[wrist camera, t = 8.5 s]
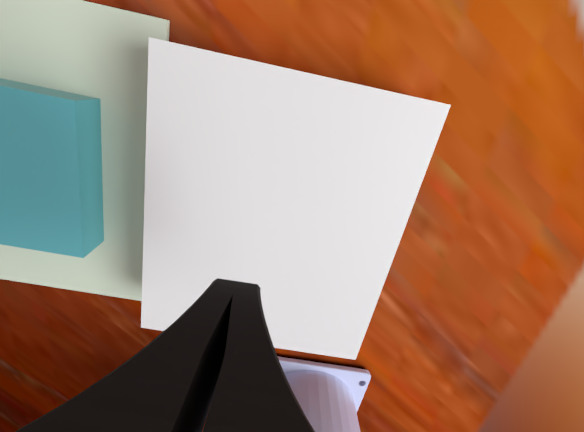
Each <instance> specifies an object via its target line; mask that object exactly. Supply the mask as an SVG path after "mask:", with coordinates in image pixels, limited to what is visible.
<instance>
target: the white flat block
mask: <svg viewBox="0 0 584 432" xmlns="http://www.w3.org/2000/svg"><path fill="white" fill-rule="evenodd" d="M450 106H451V105H449V104H444V103H440V102H435V101H431V100H426V99H422V98H417V97H413V96H409V95H404V94H400V93H395V92H391V91H386V90H382V89H377V88H373V87H369V86H364V85H360V84H355V83H351V82H346V81H342V80H337V79H333V78H329V77H324V76H320V75H315V74H311V73H306V72H302V71H297V70H293V69H288V68H284V67H280V66H275V65H271V64H266V63H262V62H257V61H253V60H248V59H244V58H240V57H235V56H231V55H226V54H222V53H217V52H213V51H208V50H204V49H200V48H195V47H191V46H186V45H182V44H177V43H173V42H168V41H164V40H160V39H155V38H151V37H149V44H148V82H147V120H146V157H145V195H144V233H143V270H142V308H141V328H148V329H154V330H161V331H165V330H166V329H167V328H168V327H169V326H170V325H171V324H173V323H174V322H175V321H176V320H177V319H178V318H179V317H180V316H181V315H182V314H183V313H184V312H185V311H186V310H187V309H188V308H189V307H190V306H191V305H192V304H193V303H194V302H195V301H196V300H197V299H198V298H199V297H200V296H201V295H202V294H203V293H204V291H205V290H206V289H207V288H208V287H209V286H210V285H211V283H212V282H213V281H214V280H216V279H217V278H219V279H226V280H232V281H239V282H246V283H252V284H258V286H259V287H260V294H261V302H262V308H263V312H264V317H265V320H266V324H267V327H268V331H269V334H270V337H271V340H272V343H273V346H274V348H280V349H287V350H294V351H300V352H307V353H314V354H320V355H327V356H333V357H340V358H347V359H353V360H356V357H357V354H358V352H359V349H360V346H361V344H362V341H363V338H364V336H365V333H366V330H367V328H368V325H369V322H370V320H371V317H372V314H373V312H374V309H375V306H376V304H377V301H378V298H379V296H380V293H381V290H382V288H383V285H384V282H385V280H386V277H387V274H388V272H389V269H390V266H391V264H392V261H393V258H394V256H395V253H396V250H397V248H398V245H399V242H400V240H401V237H402V234H403V232H404V229H405V226H406V224H407V221H408V218H409V216H410V213H411V210H412V208H413V205H414V202H415V199H416V197H417V194H418V191H419V189H420V186H421V183H422V181H423V178H424V175H425V173H426V170H427V167H428V165H429V162H430V159H431V157H432V154H433V151H434V149H435V146H436V143H437V141H438V138H439V135H440V133H441V130H442V127H443V125H444V122H445V119H446V117H447V114H448V111H449V109H450Z"/></svg>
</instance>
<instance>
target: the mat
mask: <svg viewBox="0 0 584 432" xmlns="http://www.w3.org/2000/svg"><path fill="white" fill-rule="evenodd" d="M169 26H170V21H168V20H166V19H161V18H157V17H153V16H148V15H144V14H140V13H135V12H131V11H127V10H122V9H118V8H114V7H109V6H105V5H101V4H96V3H92V2H87V1H83V0H0V78H2V79H6V80H11V81H16V82H21V83H26V84H31V85H35V86H40V87H45V88H50V89H55V90H60V91H64V92H69V93H74V94H79V95H84V96H89V97H94V98H98V99H100V107H101V145H102V182H103V220H104V241H103V242H102V243H101V244H100V245H99V246H97V247H96V248H95V249H94V250H93V251H91V252H90V253H89V254H88V255H87V256H85V257H84V258H80V257H74V256H68V255H62V254H56V253H50V252H44V251H38V250H32V249H26V248H20V247H14V246H8V245H2V244H0V279H5V280H11V281H18V282H24V283H30V284H37V285H43V286H49V287H56V288H62V289H69V290H75V291H81V292H88V293H94V294H100V295H107V296H113V297H119V298H126V299H132V300H138V301H142V270H143V233H144V195H145V157H146V120H147V82H148V44H149V37H151V38H155V39H160V40H164V41H168V42H169Z"/></svg>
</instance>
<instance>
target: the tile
mask: <svg viewBox="0 0 584 432" xmlns="http://www.w3.org/2000/svg"><path fill="white" fill-rule="evenodd" d="M103 241H104V220H103V182H102V145H101V107H100V99H98V98H94V97H89V96H84V95H79V94H74V93H69V92H64V91H60V90H55V89H50V88H45V87H40V86H35V85H31V84H26V83H21V82H16V81H11V80H6V79H2V78H0V244H2V245H8V246H14V247H20V248H26V249H32V250H38V251H44V252H50V253H56V254H62V255H68V256H74V257H80V258H84V257H85V256H87V255H88V254H89V253H90V252H91V251H93V250H94V249H95V248H96V247H97V246H99V245H100V244H101V243H102V242H103Z"/></svg>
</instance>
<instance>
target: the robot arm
mask: <svg viewBox="0 0 584 432" xmlns="http://www.w3.org/2000/svg"><path fill="white" fill-rule="evenodd" d="M370 379H371V376H370V372H369V371H368V370H365V369H359V368H352V367H346V366H339V365H332V364H325V363H319V362H312V361H305V360H299V359H292V358H285V357H278V356H277V354H276V351H275V349H274V346H273V343H272V340H271V337H270V334H269V331H268V327H267V324H266V320H265V317H264V312H263V308H262V302H261V294H260V287H259V286H258V284H252V283H246V282H239V281H232V280H226V279H219V278H217V279H216V280H214V281H213V282H212V283H211V285H210V286H209V287H208V288H207V289H206V290H205V291H204V293H203V294H202V295H201V296H200V297H199V298H198V299H197V300H196V301H195V302H194V303H193V304H192V305H191V306H190V307H189V308H188V309H187V310H186V311H185V312H184V313H183V314H182V315H181V316H180V317H179V318H178V319H177V320H176V321H175V322H174V323H173V324H171V325H170V326H169V327H168V328H167V329H166V330H165V331H163V332H162V333H161V334H160V335H159V336H158V337H156V338H155V339H154V340H153V341H152V342H151V343H149V344H148V345H147V346H146V347H144V348H143V349H142V350H141V351H139V352H138V353H137V354H136V355H134V356H133V357H132V358H130V359H129V360H128V361H126V362H125V363H123V364H122V365H121V366H119V367H118V368H117V369H115V370H114V371H112V372H111V373H110V374H108V375H107V376H105V377H104V378H102V379H101V380H99V381H98V382H96V383H95V384H93V385H92V386H90V387H89V388H87V389H86V390H84V391H83V392H81V393H80V394H78V395H77V396H75V397H73V398H72V399H70V400H69V401H67V402H65V403H64V404H62V405H60V406H59V407H57V408H55V409H54V410H52V411H50V412H48V413H47V414H45V415H43V416H42V417H40V418H38V419H36V420H35V421H33V422H31V423H29V424H28V425H26V426H24V427H23V428H21V429H19V430H17V431H16V432H202V429H203V426H204V423H205V420H206V417H207V420H206V423H205V426H204V430H203V432H360V428H359V423H358V418H357V411H358V408H359V406H360V403H361V401H362V399H363V396H364V394H365V391H366V389H367V386H368V384H369V382H370ZM210 405H211V406H210ZM209 408H210V409H209ZM208 411H209V413H208ZM207 414H208V416H207Z"/></svg>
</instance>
